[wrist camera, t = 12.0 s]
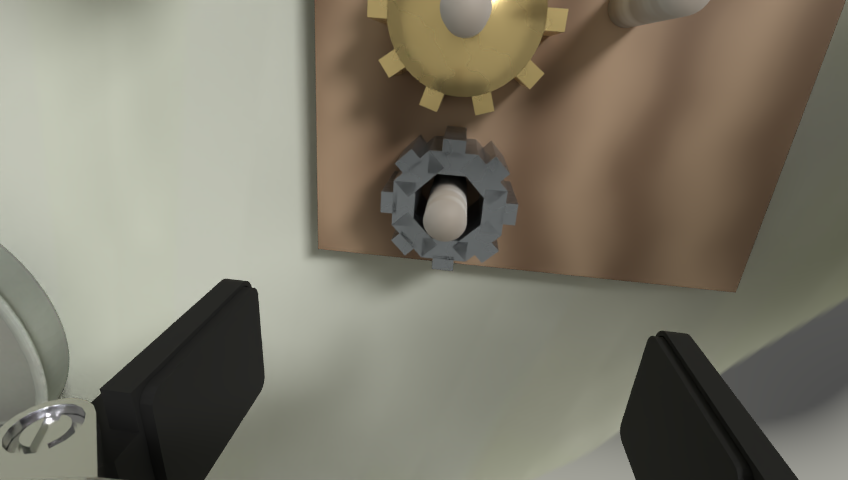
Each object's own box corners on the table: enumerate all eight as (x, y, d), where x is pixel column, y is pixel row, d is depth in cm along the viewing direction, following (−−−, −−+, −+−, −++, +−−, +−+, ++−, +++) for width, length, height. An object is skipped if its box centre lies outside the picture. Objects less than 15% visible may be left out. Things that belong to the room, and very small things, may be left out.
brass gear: (566, -72, 22) (587, -100, 18) (536, 112, 25) (548, 121, 21) (386, -84, 22) (370, -112, 18) (379, 99, 25) (365, 106, 22)
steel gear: (517, 131, 25) (527, 146, 21) (501, 244, 28) (506, 276, 24) (397, 121, 26) (383, 133, 22) (391, 233, 28) (378, 263, 24)
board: (849, -90, 22) (1062, -173, 14) (718, 277, 30) (810, 357, 22) (324, -121, 23) (252, -212, 16) (327, 237, 31) (279, 298, 23)
